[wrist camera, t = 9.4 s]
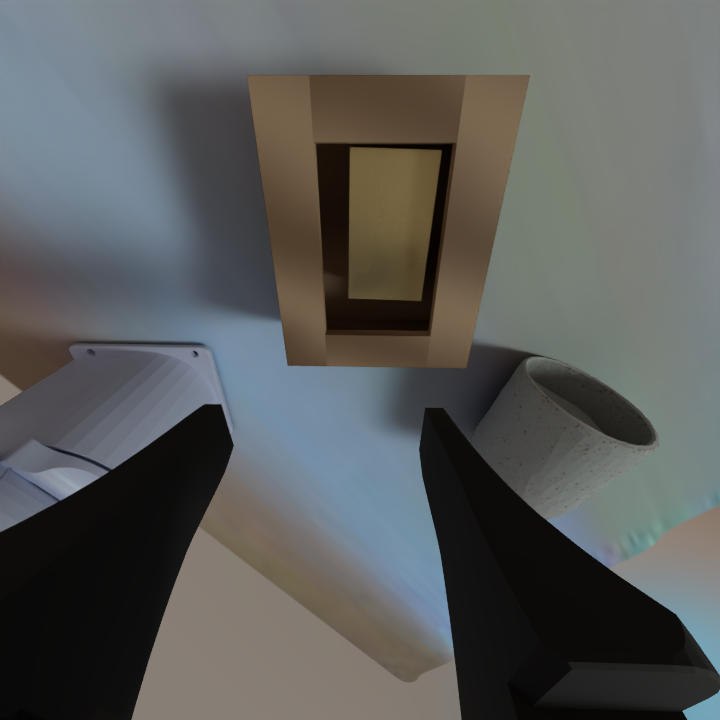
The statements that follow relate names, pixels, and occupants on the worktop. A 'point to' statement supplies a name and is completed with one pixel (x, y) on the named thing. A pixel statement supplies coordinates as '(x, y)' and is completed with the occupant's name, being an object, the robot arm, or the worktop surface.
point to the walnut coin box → (331, 207)
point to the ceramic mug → (561, 435)
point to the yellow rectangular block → (390, 221)
